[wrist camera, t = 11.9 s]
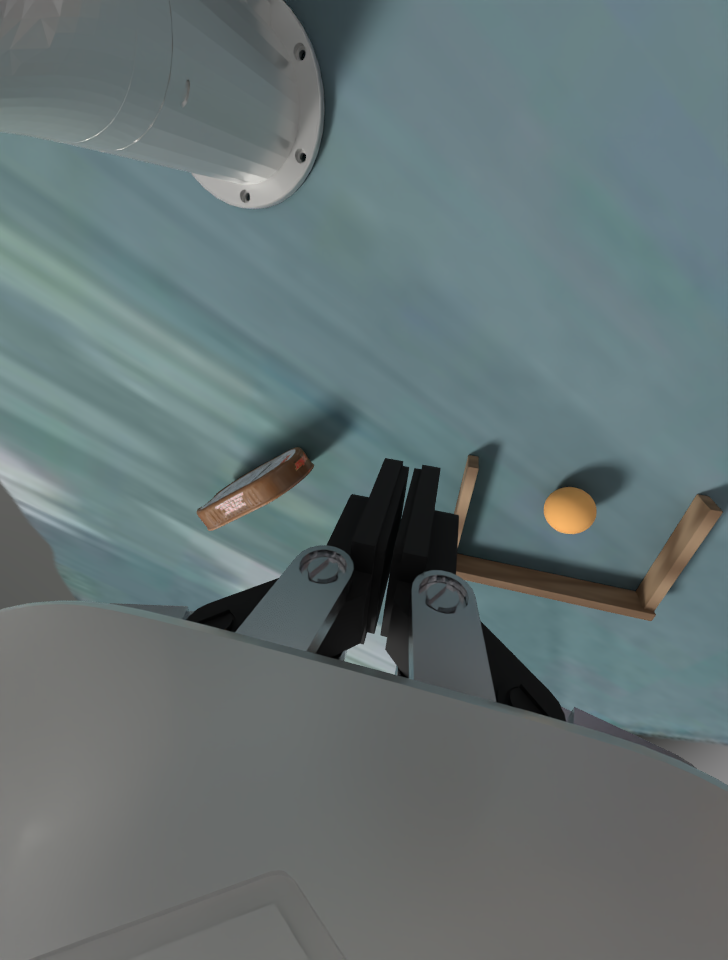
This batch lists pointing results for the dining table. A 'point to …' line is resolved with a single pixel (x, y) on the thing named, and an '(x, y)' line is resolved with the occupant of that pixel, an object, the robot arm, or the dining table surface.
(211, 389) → the dining table surface
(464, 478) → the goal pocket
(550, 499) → the ball
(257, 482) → the tin
